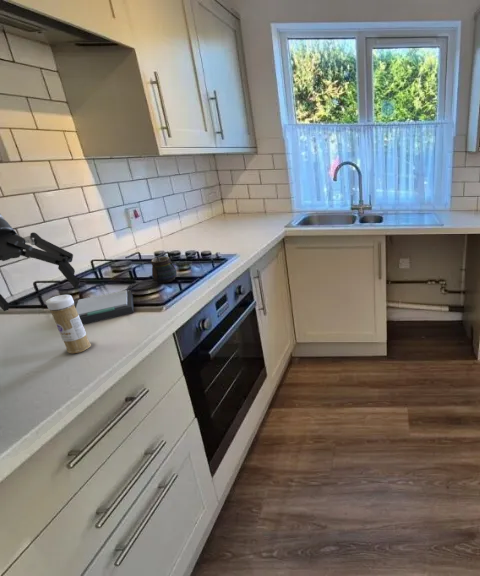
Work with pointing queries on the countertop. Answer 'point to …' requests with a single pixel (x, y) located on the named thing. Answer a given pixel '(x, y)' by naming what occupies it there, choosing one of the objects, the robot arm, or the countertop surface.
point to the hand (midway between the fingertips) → (44, 295)
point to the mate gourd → (163, 270)
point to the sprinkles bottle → (68, 323)
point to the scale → (104, 306)
